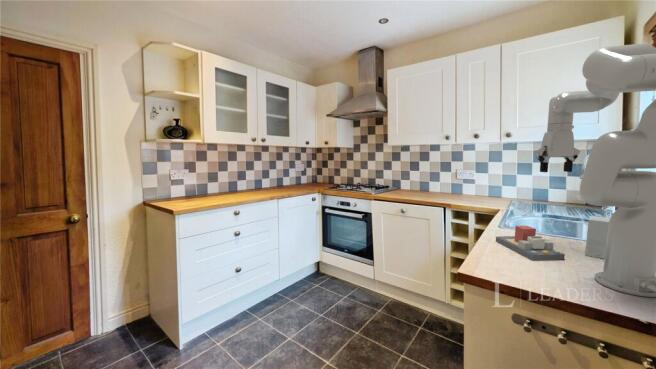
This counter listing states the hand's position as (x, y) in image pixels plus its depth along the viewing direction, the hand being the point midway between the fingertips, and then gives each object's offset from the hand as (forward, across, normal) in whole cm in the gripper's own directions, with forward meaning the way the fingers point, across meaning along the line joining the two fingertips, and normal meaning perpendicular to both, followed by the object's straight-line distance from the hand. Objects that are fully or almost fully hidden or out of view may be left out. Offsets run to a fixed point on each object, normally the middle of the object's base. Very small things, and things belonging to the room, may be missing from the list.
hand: (555, 171), depth 110 cm
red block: (+26, +17, +8) cm, 32 cm away
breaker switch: (+26, +17, +14) cm, 34 cm away
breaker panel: (+28, +17, +10) cm, 34 cm away
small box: (+28, -4, +16) cm, 33 cm away
